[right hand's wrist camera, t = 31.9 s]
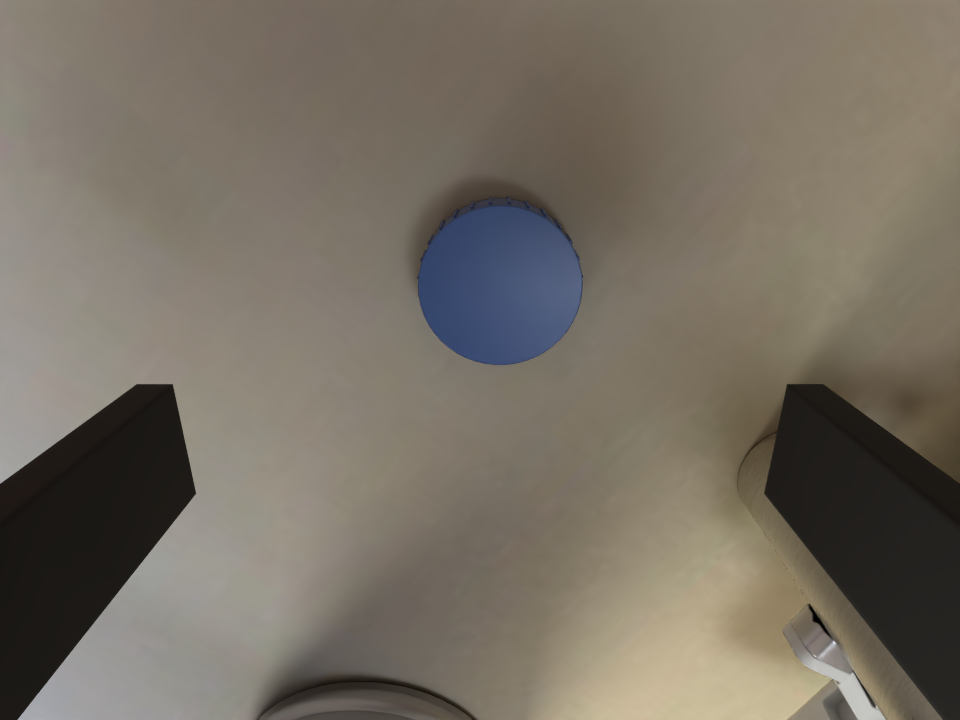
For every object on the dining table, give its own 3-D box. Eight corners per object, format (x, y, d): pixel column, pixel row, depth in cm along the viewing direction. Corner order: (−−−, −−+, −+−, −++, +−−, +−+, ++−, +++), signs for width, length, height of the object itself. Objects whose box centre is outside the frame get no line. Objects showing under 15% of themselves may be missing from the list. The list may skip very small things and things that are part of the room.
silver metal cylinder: (760, 416, 25) (1266, 978, 9) (871, 435, 25) (1565, 1017, 9) (721, 510, 27) (1074, 1114, 11) (824, 527, 27) (1323, 1141, 11)
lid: (399, 310, 23) (390, 327, 21) (461, 167, 21) (457, 172, 19) (533, 369, 24) (536, 390, 22) (605, 238, 22) (615, 250, 20)
